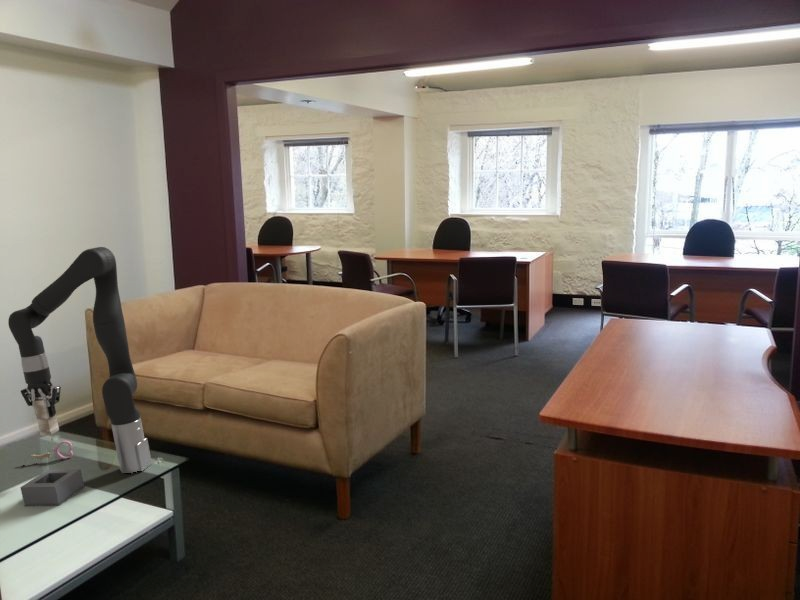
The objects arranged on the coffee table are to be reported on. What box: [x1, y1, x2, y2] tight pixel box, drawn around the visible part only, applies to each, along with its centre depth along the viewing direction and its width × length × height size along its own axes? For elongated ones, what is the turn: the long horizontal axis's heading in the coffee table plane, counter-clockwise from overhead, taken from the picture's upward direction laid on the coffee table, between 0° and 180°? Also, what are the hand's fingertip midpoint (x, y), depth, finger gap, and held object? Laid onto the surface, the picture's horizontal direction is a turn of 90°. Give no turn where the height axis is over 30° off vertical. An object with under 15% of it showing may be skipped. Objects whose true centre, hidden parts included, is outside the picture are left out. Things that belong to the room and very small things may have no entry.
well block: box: [20, 468, 85, 507], centre depth 201 cm, size 12×12×6 cm
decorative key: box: [30, 440, 74, 461], centre depth 231 cm, size 7×1×20 cm
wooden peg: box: [33, 398, 60, 436], centre depth 214 cm, size 4×4×12 cm
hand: (46, 416), depth 214 cm, fingers closed on wooden peg, 4 cm apart
